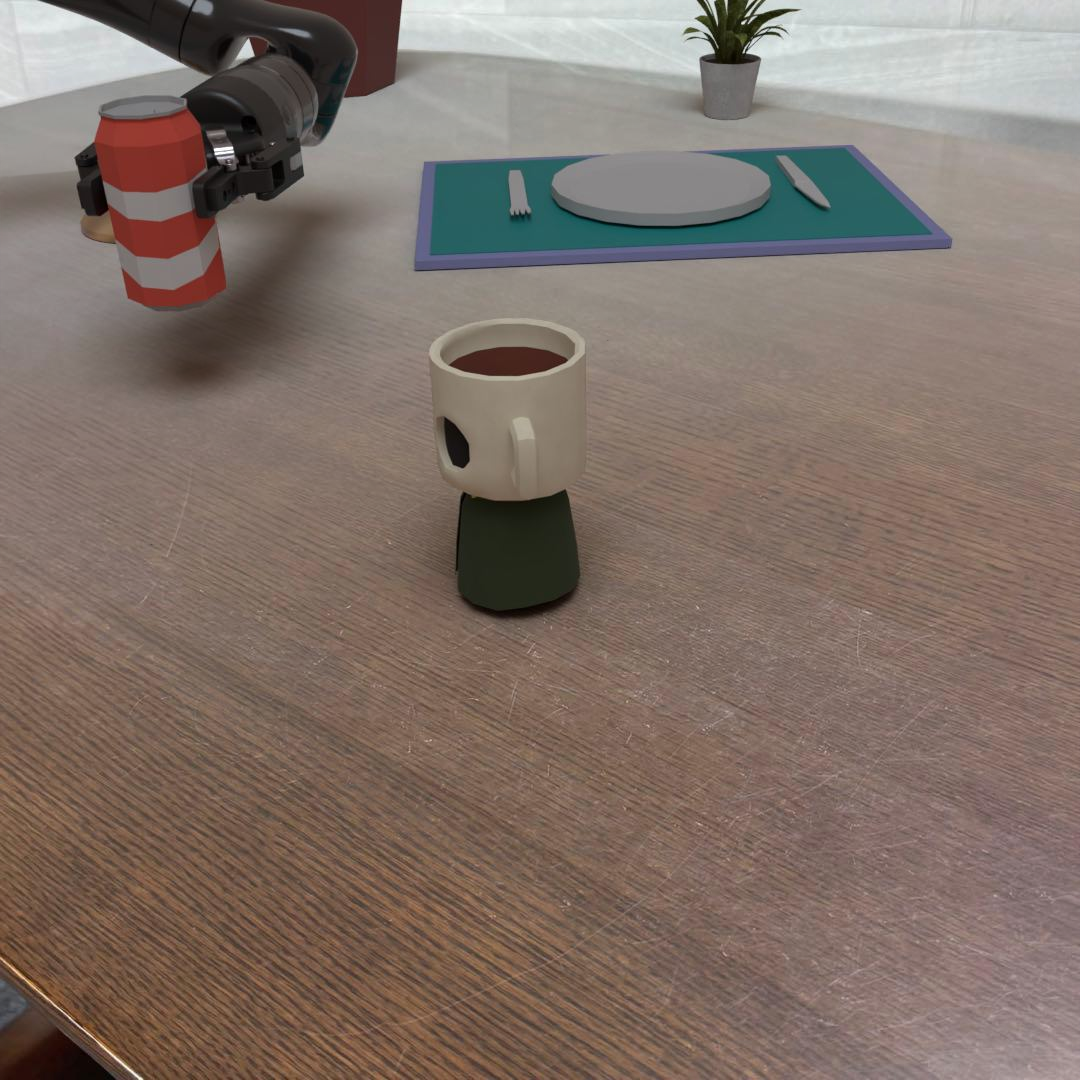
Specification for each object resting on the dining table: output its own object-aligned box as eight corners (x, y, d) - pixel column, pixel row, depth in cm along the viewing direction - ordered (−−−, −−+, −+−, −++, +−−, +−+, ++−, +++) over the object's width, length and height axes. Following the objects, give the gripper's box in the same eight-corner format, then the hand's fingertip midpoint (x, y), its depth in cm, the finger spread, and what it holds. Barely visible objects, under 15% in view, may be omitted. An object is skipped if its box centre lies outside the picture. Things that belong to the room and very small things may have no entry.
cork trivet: (76, 249, 106) (74, 240, 106) (87, 209, 116) (86, 201, 116) (214, 236, 108) (213, 227, 108) (214, 198, 118) (213, 190, 118)
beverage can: (128, 321, 74) (85, 121, 68) (132, 285, 79) (92, 96, 73) (228, 311, 75) (195, 113, 69) (226, 276, 81) (195, 89, 74)
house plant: (697, 137, 133) (705, -24, 124) (638, 111, 144) (641, -39, 135) (805, 121, 138) (820, -35, 129) (740, 97, 148) (750, -49, 140)
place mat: (415, 270, 100) (413, 243, 98) (424, 168, 125) (422, 146, 124) (951, 247, 101) (955, 221, 100) (851, 152, 127) (854, 129, 125)
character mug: (438, 535, 65) (418, 308, 58) (567, 522, 66) (564, 296, 59) (458, 659, 56) (439, 407, 49) (609, 641, 57) (610, 391, 50)
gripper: (340, 184, 87) (268, 265, 73) (150, 181, 88) (44, 259, 74) (329, 75, 83) (249, 138, 69) (129, 73, 84) (13, 135, 70)
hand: (143, 201), depth 72 cm, fingers closed on beverage can, 6 cm apart
